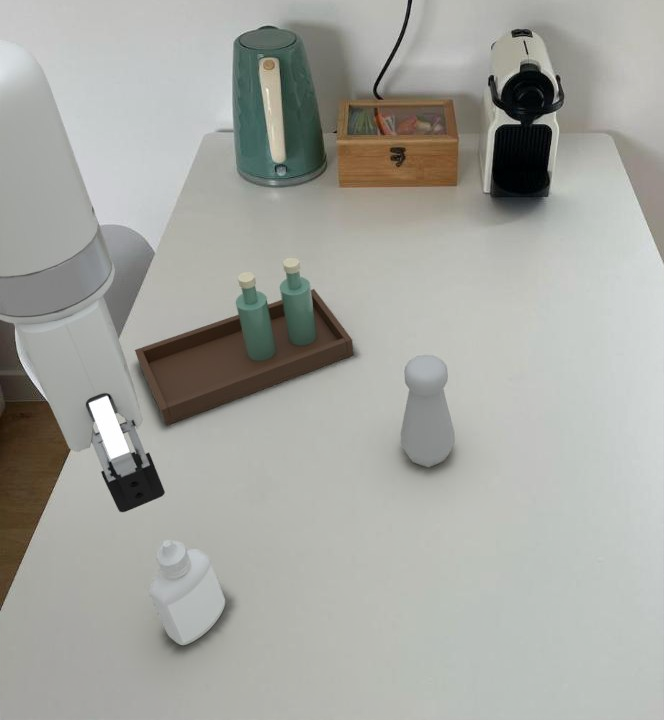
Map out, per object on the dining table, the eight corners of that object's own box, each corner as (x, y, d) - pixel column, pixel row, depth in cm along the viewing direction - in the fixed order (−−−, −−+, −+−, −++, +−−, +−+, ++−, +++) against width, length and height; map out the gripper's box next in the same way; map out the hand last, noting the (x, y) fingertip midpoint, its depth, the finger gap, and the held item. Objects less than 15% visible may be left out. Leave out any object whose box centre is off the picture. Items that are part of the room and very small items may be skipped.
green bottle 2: (294, 349, 100) (282, 275, 92) (284, 333, 102) (270, 258, 94) (321, 339, 101) (311, 265, 93) (310, 323, 103) (299, 249, 96)
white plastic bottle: (234, 627, 73) (207, 551, 65) (172, 652, 72) (137, 577, 63) (221, 588, 76) (194, 511, 68) (162, 611, 75) (127, 535, 66)
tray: (166, 425, 92) (160, 409, 90) (140, 365, 100) (134, 349, 98) (353, 355, 100) (352, 339, 98) (316, 304, 107) (314, 288, 105)
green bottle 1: (252, 364, 98) (236, 290, 90) (242, 347, 100) (225, 273, 93) (280, 354, 99) (266, 280, 91) (269, 338, 102) (255, 263, 94)
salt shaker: (430, 424, 91) (429, 337, 82) (465, 454, 87) (468, 366, 78) (390, 450, 88) (384, 363, 79) (424, 482, 85) (422, 394, 76)
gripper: (-43, 214, 52) (49, 401, 64) (-2, 375, 41) (100, 566, 52) (75, 181, 54) (143, 366, 66) (145, 324, 43) (211, 517, 55)
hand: (124, 454), depth 59 cm, fingers open, 9 cm apart
